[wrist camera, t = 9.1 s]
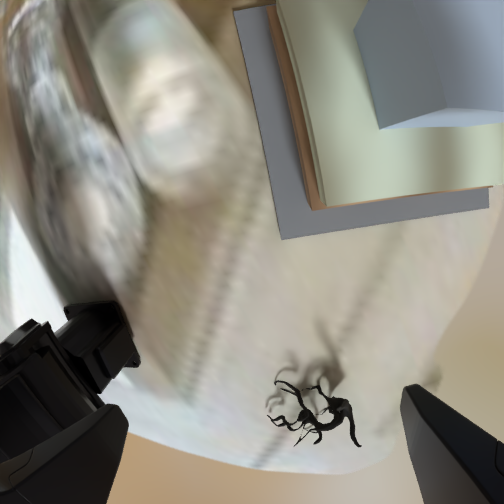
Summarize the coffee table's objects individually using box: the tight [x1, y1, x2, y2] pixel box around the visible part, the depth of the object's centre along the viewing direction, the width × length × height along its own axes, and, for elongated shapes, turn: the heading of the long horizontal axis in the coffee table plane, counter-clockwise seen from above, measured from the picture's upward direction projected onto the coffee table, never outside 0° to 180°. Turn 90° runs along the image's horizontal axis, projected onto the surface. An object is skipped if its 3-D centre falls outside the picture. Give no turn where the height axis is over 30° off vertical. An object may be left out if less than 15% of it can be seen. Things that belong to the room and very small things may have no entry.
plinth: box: [266, 0, 504, 211], centre depth 13 cm, size 12×12×6 cm
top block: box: [353, 0, 504, 130], centre depth 7 cm, size 5×5×6 cm
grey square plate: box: [233, 4, 489, 240], centre depth 16 cm, size 16×16×1 cm
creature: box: [267, 380, 362, 447], centre depth 21 cm, size 8×5×8 cm
